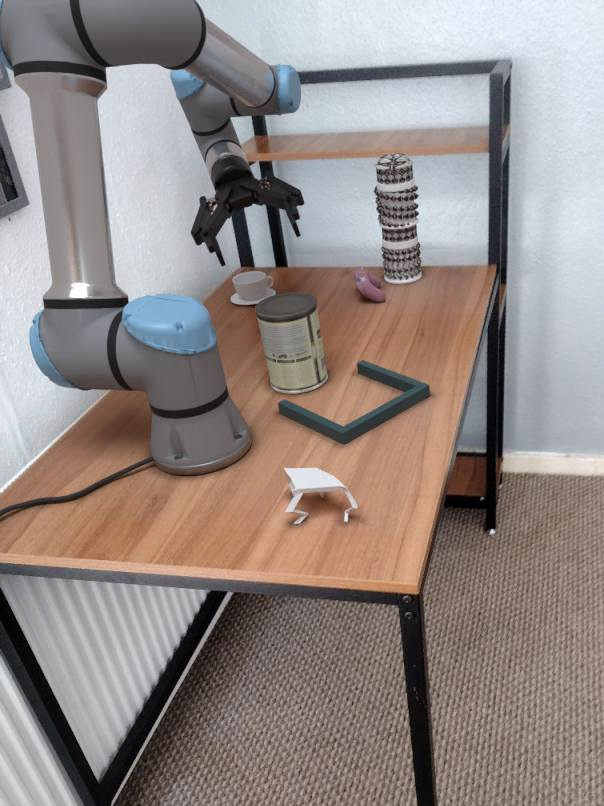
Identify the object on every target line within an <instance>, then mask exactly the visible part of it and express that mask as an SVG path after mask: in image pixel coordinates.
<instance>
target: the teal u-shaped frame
mask: <svg viewBox="0 0 604 806" xmlns="http://www.w3.org/2000/svg"><path fill="white" fill-rule="evenodd" d="M356 368H357V369H356V370H357V374H359V375H361V376H364V377H366V378H369V379H371V380H374V381H376V382H379V383H380V384H383V385H386V386H390V387H392V388H394V389H397V390H399V391H402V393H401V394H399V395H398V396H396V397H394V398H392V399H390V400H388V401H386V402H385V403H383V404H381V405H380V406H378V407H376V408H374V409H372V410H370V411H369V412H366V413H365V414H363V415H361V416H360V417H358V418H356V419H354V420H352V421H351V422H349V423H347V424H345V425H341V424H340V423H337V422H335V421H333V420H331V419H329V418H326V417H325V416H322V415H320V414H318V413H315V412H313V411H312V410H309V409H307V408H305V407H302V406H300V405H298V404H297V403H294V402H292V401H290V400H287V399H285V398H284V399H282V400H280V401H278V402H277V406H278V412H279V414H280V415H282V416H284V417H286V418H288V419H291V420H292V421H294V422H297V423H299V424H300V425H303V426H305V427H306V428H309V429H311V430H313V431H316V432H317V433H319V434H321V435H323V436H325V437H327V438H330V439H332V440H334V441H336V442H338V443H340V444H342V445H346V444H349V442H352V441H353V440H355V439H357V438H359V437H360V436H362V435H363V434H366V433H367V432H369V431H371V430H373V429H374V428H376V427H378V426H380V425H381V424H383V423H385V422H387V421H388V420H391V419H392V418H393V417H396V416H397V415H399V414H400V413H403V412H404V411H406V410H408V409H409V408H412V407H414V406H415V405H417V404H418V403H420V402H422V401H424V400H425V399H427V398H429V397H430V396H431V389H430V384H429V383H426V382H423V381H420V380H418V379H416V378H415V379H414V378H412V377H409V376H407V375H404V374H402V373H398V372H397V371H394V370H391V369H388V368H385V367H382V366H380V365H378V364H375V363H372V362H369V361H368V360H367V361H366V360H364V359H362V360H360V361H358V362H356Z"/></svg>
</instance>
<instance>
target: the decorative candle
mask: <svg viewBox="0 0 604 806" xmlns="http://www.w3.org/2000/svg"><path fill="white" fill-rule="evenodd" d="M414 163H415V162H414V161H413V160H412V159H410V158H409V156H408V155H407V154H406V153H400V152H399V153H398V152H397V153H396V152H395V153H387V154H384V155H382V156H380V157H379V158H378V161H377V163H375V164H374V166H373V167H374V168H375V171H376V186H375V187H374V190H373V193H374V195H375V196H376V197H375V204H376V208H375V209H376V211H377V213H378V217H377V221H378V223H379V224H378V225H379V227H380V228H381V236H382V237H381V245H382V246H381V247H380V250H381V252H382V254H381V257H382V260H383V261H382V264H381V265H382V267H383V269H382V272H383V274H384V276H383V277H384V278H383V279H384V281H385V282H387V283H390V284H393V285H394V284H395V285H404V284H410V283H414V282H416V281H418V280H420V279H421V278H422V277H423V274H422V269H423V267H422V262H423V261H422V259H421V254H422V252H421V249H420V248H421V244H420V242H419V233H418V228H417V227H418V225H417V224H418V223H419V218H418V216H419V215H420V212H419V211H417V209H418V208H419V204H418V203H416V202H415V201H416V200H417V199H418V198H419V194H418V193H416V192H417V191H419V186H418V185H416V184H415V177H414V169H413V165H414Z"/></svg>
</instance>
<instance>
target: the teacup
mask: <svg viewBox="0 0 604 806" xmlns="http://www.w3.org/2000/svg"><path fill="white" fill-rule="evenodd" d="M231 279H232V281H231V282H232V284H233V287H234V290H235V293H234V294H233V295H231V297H230V299H229V300H230V302H231V303H233V304H234V305H235V304H236V305H241V306H249V305H257V304H258V303H259V302H260V301H262V300H264V299H265V298H268V297H270V296H273V295H277V294H276V293H277V292H276V290H275V289H273V288H271V287H273V285H274V278H273V277H272V276H271V275H268V276H267V273H266V272H264V271H258V270H253V271H246V272H241V273H239V274H236V275H235V276H233V277H232V278H231ZM269 280H271V282H270V283H269V284H268V281H269Z"/></svg>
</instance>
